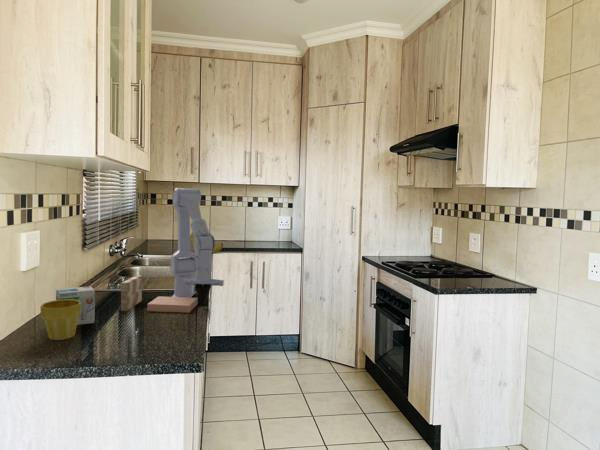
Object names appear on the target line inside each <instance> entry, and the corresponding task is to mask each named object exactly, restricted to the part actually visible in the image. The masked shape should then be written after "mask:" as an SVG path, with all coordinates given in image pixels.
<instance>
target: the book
mask: <svg viewBox="0 0 600 450" xmlns="http://www.w3.org/2000/svg"><path fill="white" fill-rule="evenodd" d="M198 298H199V297H192V298H189V297H171V296H161V295H158V296H157V297H155V298H154V299H152V300H151V301H149V302H148V303H147V306H146V307H147V308H146V309H147V312H162V313H165V312H166V313H191V312H192V310H193V309H194V308H196V307H197V305H198V301H199V300H198Z"/></svg>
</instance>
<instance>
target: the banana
mask: <svg viewBox="0 0 600 450" xmlns="http://www.w3.org/2000/svg"><path fill="white" fill-rule="evenodd" d="M193 243H194V236H193V232H191V233H190V245H191V246H192V247H193V248H194V245H193ZM223 247H224V244H223V243H222V242H218V243H215V247H214V250H213V251H212V254H214V253H218V252H220V251H221V250H222V249H223Z"/></svg>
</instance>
